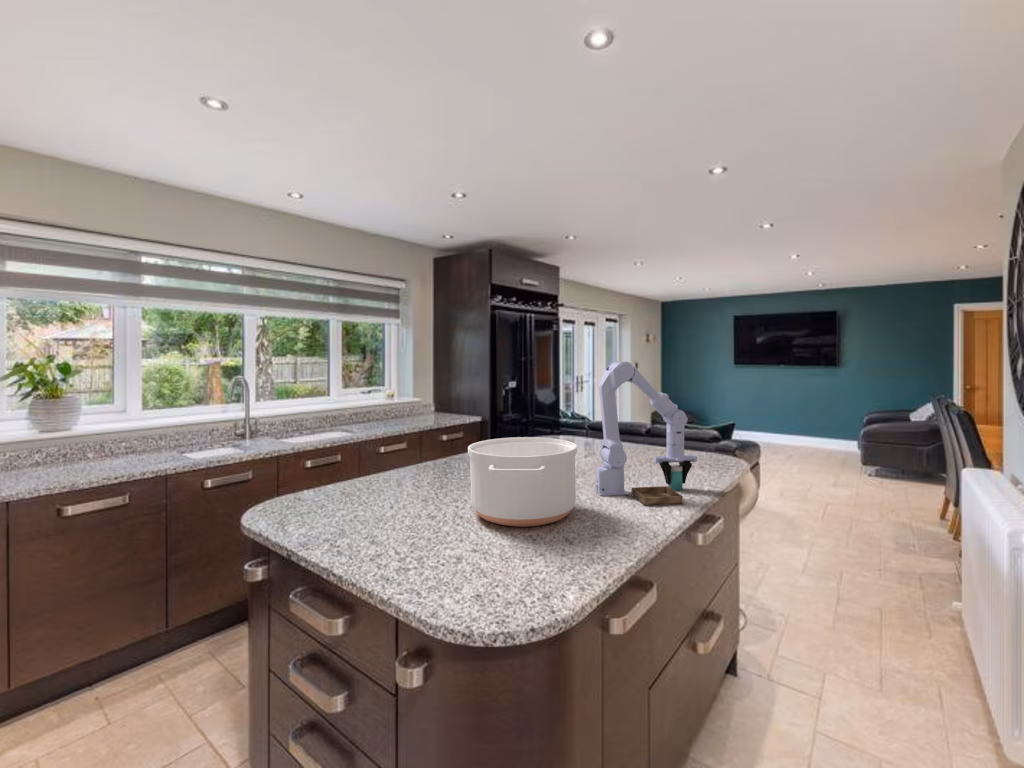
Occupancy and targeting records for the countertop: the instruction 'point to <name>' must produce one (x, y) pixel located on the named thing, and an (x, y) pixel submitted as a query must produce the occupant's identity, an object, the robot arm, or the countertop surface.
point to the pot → (522, 480)
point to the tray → (657, 496)
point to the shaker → (676, 478)
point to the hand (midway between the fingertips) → (675, 483)
